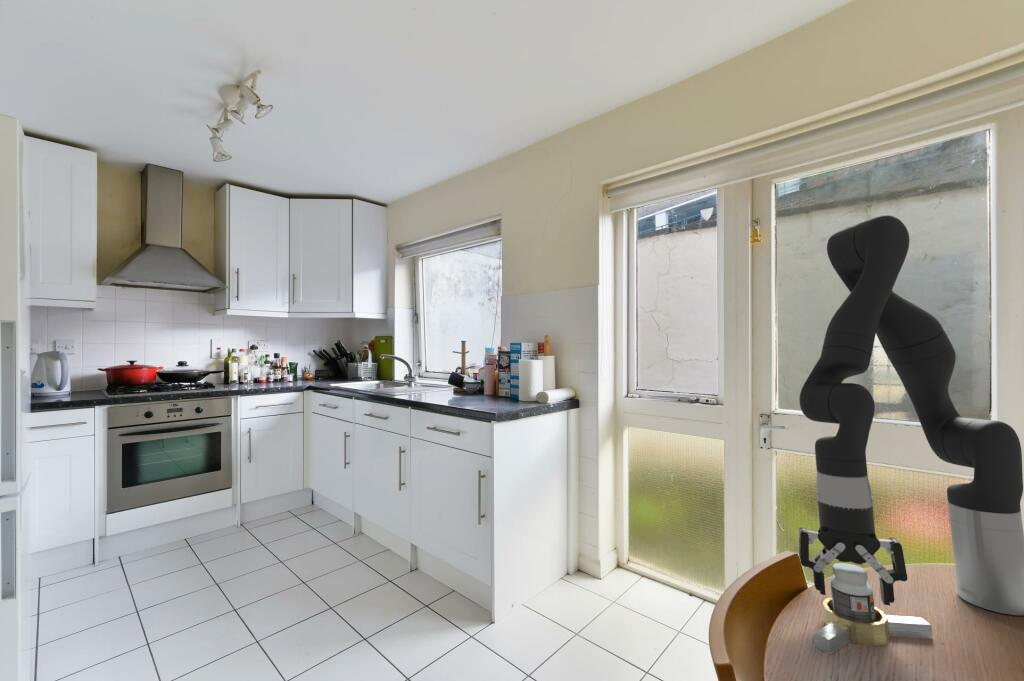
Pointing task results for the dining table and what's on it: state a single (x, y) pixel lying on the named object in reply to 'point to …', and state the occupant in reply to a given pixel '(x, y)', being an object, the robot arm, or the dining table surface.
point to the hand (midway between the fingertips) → (853, 598)
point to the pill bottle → (852, 593)
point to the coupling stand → (866, 629)
